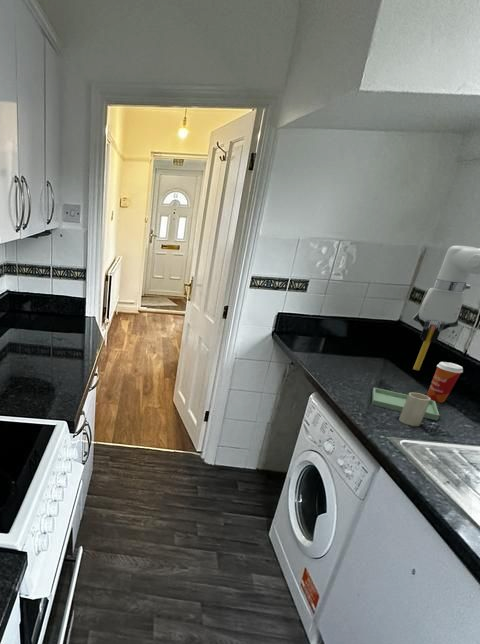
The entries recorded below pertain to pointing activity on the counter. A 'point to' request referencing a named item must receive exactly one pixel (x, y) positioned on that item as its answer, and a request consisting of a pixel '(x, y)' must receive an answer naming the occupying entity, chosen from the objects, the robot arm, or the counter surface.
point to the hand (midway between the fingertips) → (427, 340)
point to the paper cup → (444, 381)
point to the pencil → (424, 347)
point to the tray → (399, 402)
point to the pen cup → (414, 409)
